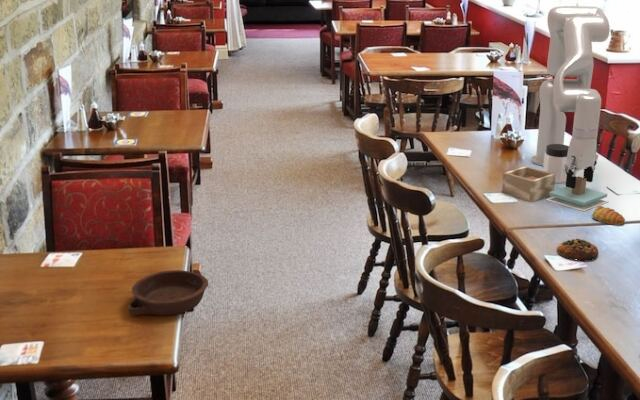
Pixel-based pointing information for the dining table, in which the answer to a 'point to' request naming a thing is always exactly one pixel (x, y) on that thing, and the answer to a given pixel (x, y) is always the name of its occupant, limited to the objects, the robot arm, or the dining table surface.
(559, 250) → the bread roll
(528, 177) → the box
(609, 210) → the pastry
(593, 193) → the lid
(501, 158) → the dining table surface
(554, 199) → the mat
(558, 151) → the jar
